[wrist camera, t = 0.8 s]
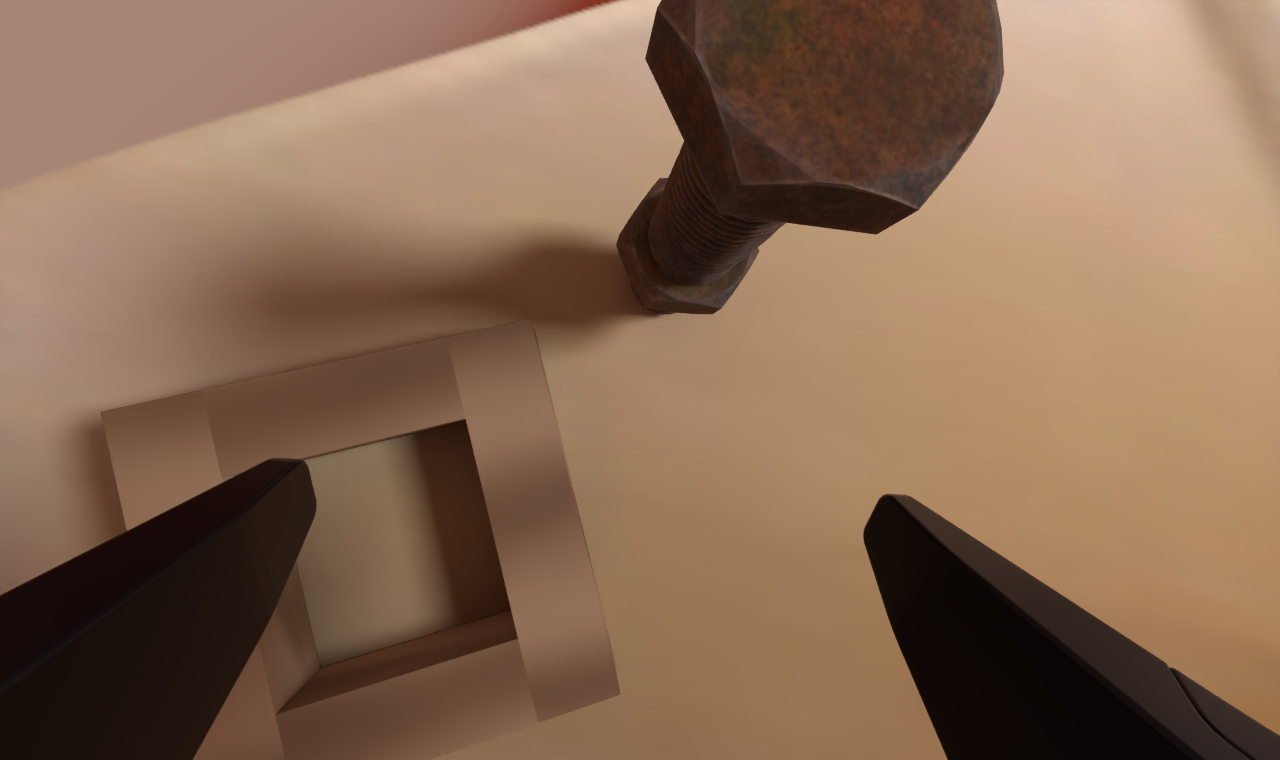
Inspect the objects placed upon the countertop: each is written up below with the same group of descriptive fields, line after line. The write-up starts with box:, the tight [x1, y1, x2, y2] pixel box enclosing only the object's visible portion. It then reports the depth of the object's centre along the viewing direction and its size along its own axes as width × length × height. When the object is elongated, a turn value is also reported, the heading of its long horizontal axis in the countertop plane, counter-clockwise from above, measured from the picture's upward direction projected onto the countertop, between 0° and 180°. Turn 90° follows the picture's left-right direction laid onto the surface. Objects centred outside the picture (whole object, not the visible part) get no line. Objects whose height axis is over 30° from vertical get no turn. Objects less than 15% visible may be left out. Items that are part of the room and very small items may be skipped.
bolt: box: [616, 0, 1004, 314], centre depth 15 cm, size 6×5×15 cm
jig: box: [101, 319, 620, 760], centre depth 19 cm, size 14×14×3 cm
